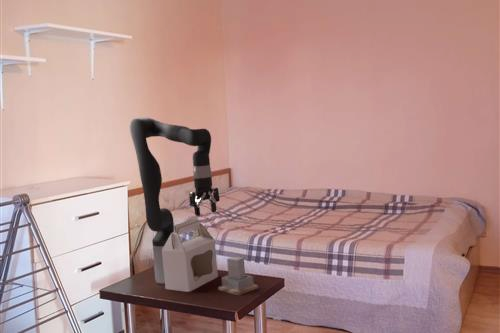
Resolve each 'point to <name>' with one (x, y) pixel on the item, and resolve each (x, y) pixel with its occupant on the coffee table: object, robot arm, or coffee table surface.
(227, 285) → the duct collar
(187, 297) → the coffee table surface
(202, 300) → the coffee table surface
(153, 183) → the robot arm
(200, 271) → the gable box
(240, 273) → the skincare box
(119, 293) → the coffee table surface
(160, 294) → the coffee table surface
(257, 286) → the birch board
